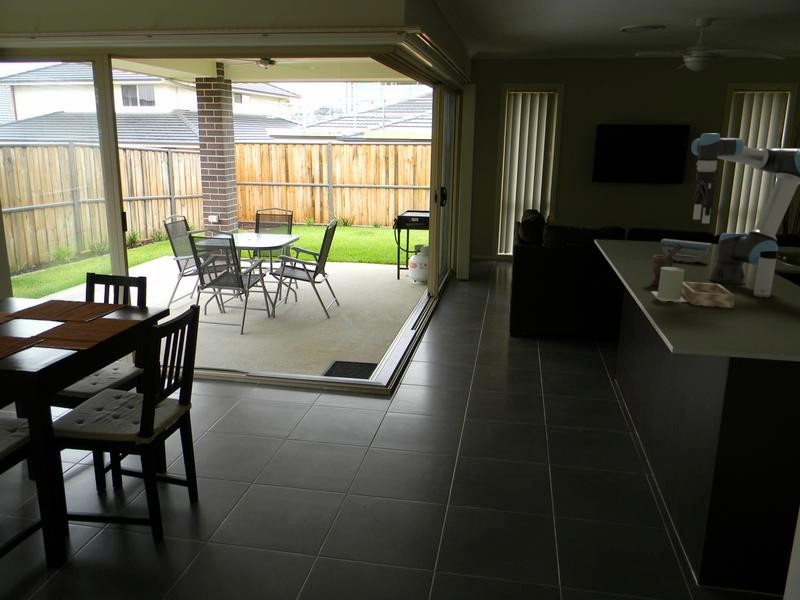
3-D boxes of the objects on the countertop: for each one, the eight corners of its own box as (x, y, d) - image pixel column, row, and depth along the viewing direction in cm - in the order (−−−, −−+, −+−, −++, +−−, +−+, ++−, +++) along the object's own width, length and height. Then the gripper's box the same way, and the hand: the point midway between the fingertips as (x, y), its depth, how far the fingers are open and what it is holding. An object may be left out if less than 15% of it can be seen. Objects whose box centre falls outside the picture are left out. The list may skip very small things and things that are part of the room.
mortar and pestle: (676, 285, 295) (682, 241, 291) (677, 288, 287) (683, 243, 283) (649, 282, 299) (654, 239, 294) (649, 286, 291) (655, 241, 286)
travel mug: (764, 298, 273) (772, 251, 268) (750, 295, 278) (757, 249, 274) (773, 297, 276) (781, 250, 271) (759, 294, 281) (766, 248, 277)
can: (683, 299, 263) (687, 270, 260) (659, 297, 265) (663, 268, 262) (678, 294, 272) (682, 266, 269) (655, 293, 274) (658, 265, 271)
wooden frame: (716, 295, 276) (718, 284, 275) (733, 307, 254) (735, 295, 253) (678, 292, 278) (680, 281, 277) (691, 304, 257) (693, 292, 256)
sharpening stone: (708, 262, 360) (711, 243, 357) (706, 264, 354) (709, 244, 351) (661, 257, 373) (664, 238, 371) (658, 259, 367) (661, 240, 364)
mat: (678, 294, 275) (678, 293, 275) (687, 302, 260) (687, 301, 260) (651, 292, 277) (651, 291, 277) (658, 300, 262) (658, 299, 262)
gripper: (689, 169, 287) (684, 217, 292) (705, 172, 263) (700, 224, 268) (707, 169, 285) (701, 217, 291) (725, 172, 261) (719, 225, 267)
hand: (700, 221), depth 279 cm, fingers open, 13 cm apart
